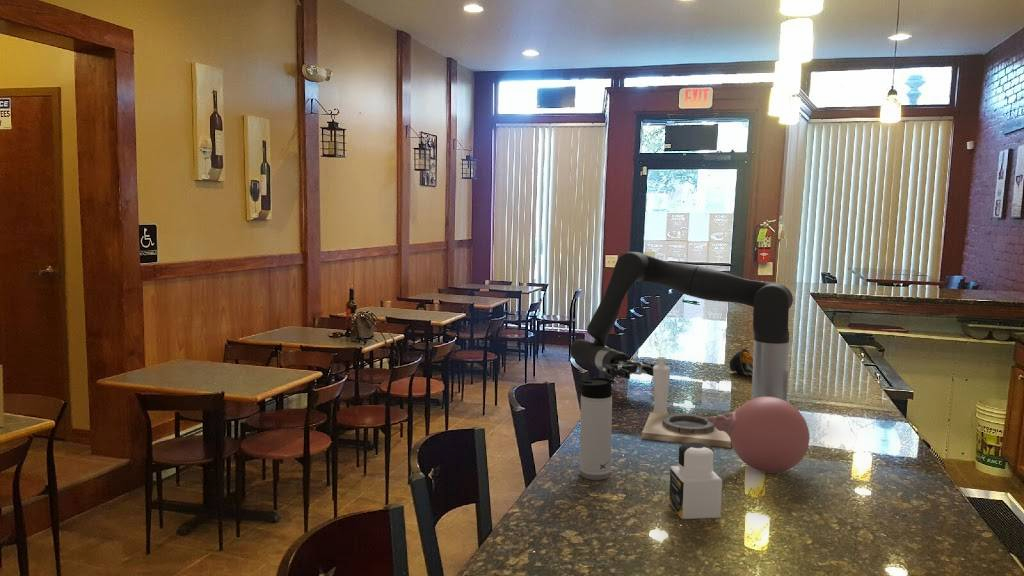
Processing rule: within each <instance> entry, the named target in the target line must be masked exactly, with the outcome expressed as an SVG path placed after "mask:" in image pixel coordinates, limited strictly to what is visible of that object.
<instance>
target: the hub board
mask: <svg viewBox="0 0 1024 576" xmlns="http://www.w3.org/2000/svg"><path fill="white" fill-rule="evenodd" d="M641 439H642V440H653V441H661V442H672V443H681V444H686V443H691V442H696V443H702V444H705V445H708V446H710V447H719V448H720V447H721V448H729V449H731V448H732V447H731V445H732V444H731V440H730V437H729V436H728V434H727V433H726V432H724V431H719V430H718V429H717V428H716V427H714V425H713V423H712V422H709V421H708V417H706V416H702V415H699V414H691V413H674V414H673V413H672V414H671V413H667V414H662V413H653V412H649V415H648V417H647V420H646V421H645V425H644V426H643V429H642V431H641Z"/></svg>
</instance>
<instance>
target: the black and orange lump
mask: <svg viewBox="0 0 1024 576" xmlns="http://www.w3.org/2000/svg"><path fill="white" fill-rule="evenodd" d="M729 369H730V371H731V372H736V373H737V374H739V375H743V376H747V377H748V378H752V375H753V355H752V354H751V353H750V351H749V350H748V349H746V348H742V349H741V350H740V351H739V352H736V353H735V354H734V355H733V357H732V358H730V360H729Z"/></svg>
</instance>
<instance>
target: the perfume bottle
mask: <svg viewBox="0 0 1024 576" xmlns="http://www.w3.org/2000/svg"><path fill="white" fill-rule="evenodd" d="M666 359H667V357H664V356H658V357H657V364H656V365H654V367H653V376H652V377H653V398H654V401H653V402H654V407H653V410H652V413H662V414H669V412H668V409H667V406H668V397H669V387H670V379H671V378H670V377H671V369H672V368H671V367H669V366H668V365H666Z"/></svg>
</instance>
